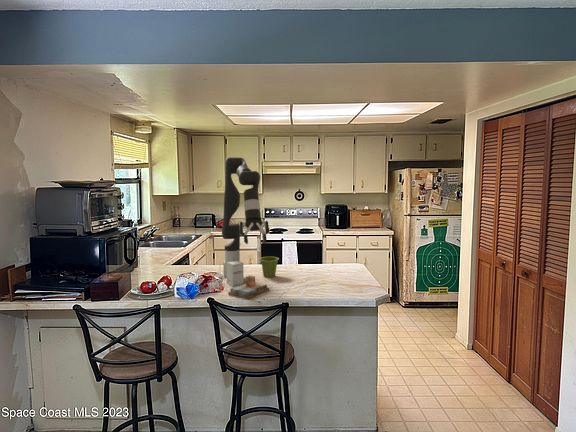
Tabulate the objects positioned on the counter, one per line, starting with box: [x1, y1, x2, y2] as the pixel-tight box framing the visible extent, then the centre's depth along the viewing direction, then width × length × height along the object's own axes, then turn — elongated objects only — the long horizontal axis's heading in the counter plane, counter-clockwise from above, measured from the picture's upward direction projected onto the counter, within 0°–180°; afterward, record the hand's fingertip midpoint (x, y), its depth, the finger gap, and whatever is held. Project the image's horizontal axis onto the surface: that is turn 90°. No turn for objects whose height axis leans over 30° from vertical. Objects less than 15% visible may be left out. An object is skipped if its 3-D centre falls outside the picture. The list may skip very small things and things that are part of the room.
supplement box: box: [226, 261, 244, 287], centre depth 232 cm, size 7×7×13 cm
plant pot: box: [259, 256, 280, 278], centre depth 249 cm, size 12×12×11 cm
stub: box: [240, 275, 260, 289], centre depth 216 cm, size 9×4×7 cm, turn 59°
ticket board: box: [227, 284, 270, 300], centre depth 216 cm, size 14×18×4 cm
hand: (255, 243), depth 190 cm, fingers open, 8 cm apart
